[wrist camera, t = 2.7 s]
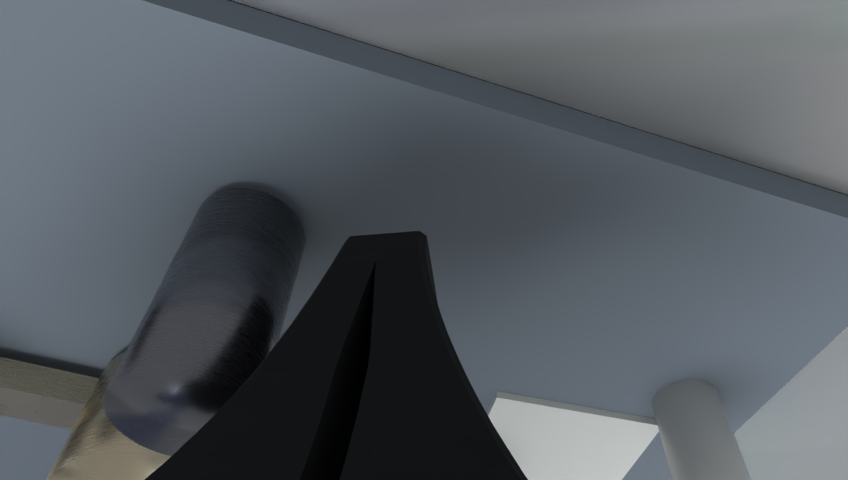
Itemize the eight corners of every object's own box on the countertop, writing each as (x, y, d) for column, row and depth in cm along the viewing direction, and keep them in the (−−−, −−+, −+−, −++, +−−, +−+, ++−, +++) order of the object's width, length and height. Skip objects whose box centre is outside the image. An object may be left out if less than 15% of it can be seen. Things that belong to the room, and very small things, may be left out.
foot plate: (519, 606, 27) (520, 633, 26) (-125, 489, 23) (-146, 517, 22) (907, 214, 14) (933, 245, 13) (-412, -202, 10) (-484, -193, 9)
